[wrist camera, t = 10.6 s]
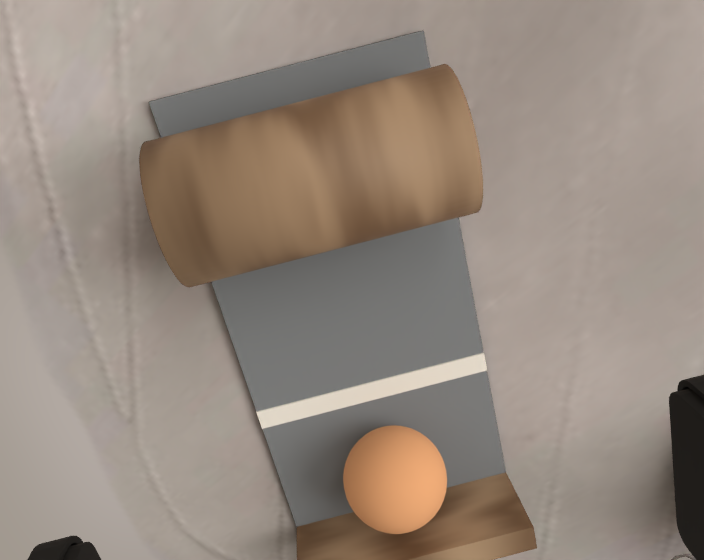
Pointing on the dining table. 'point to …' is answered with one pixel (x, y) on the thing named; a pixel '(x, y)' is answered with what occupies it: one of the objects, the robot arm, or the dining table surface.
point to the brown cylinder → (313, 176)
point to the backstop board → (432, 530)
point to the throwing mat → (352, 314)
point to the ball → (395, 479)
